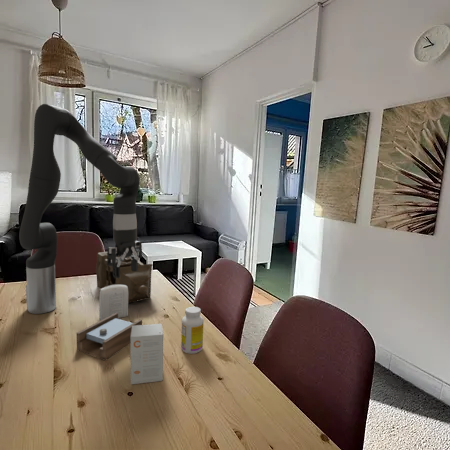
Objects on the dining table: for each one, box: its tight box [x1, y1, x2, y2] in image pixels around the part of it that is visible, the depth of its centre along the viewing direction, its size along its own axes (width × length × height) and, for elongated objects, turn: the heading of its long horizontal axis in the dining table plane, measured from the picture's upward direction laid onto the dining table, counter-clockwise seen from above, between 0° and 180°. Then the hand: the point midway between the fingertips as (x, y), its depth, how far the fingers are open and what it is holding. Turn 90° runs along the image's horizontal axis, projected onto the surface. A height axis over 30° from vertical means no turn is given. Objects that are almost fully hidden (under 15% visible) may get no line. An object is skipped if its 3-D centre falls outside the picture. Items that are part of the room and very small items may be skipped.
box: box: [76, 313, 143, 361], centre depth 96 cm, size 11×16×6 cm
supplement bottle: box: [180, 306, 204, 355], centre depth 94 cm, size 7×7×13 cm
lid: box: [86, 318, 134, 344], centre depth 96 cm, size 8×12×3 cm
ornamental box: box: [95, 251, 153, 304], centre depth 133 cm, size 35×18×18 cm, turn 38°
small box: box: [130, 323, 164, 385], centre depth 80 cm, size 8×6×13 cm
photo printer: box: [98, 285, 129, 321], centre depth 113 cm, size 10×4×12 cm, turn 123°
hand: (125, 274), depth 104 cm, fingers open, 8 cm apart
